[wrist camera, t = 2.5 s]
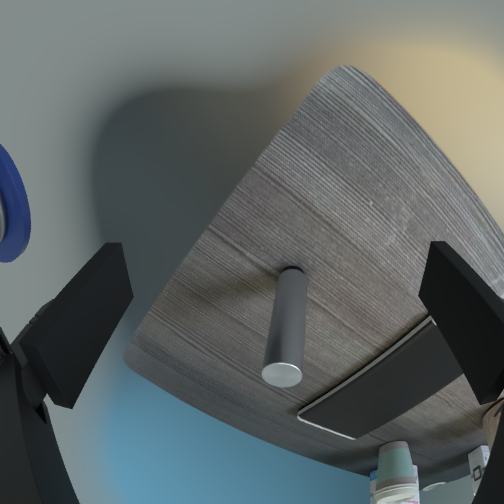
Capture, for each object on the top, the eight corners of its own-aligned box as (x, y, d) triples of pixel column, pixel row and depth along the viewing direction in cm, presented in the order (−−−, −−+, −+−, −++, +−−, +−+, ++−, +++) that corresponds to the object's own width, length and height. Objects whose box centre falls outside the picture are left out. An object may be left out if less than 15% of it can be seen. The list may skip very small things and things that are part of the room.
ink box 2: (499, 444, 49) (508, 492, 37) (485, 454, 52) (493, 501, 39) (480, 444, 49) (490, 497, 36) (466, 454, 52) (474, 505, 39)
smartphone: (483, 348, 34) (487, 357, 33) (353, 433, 48) (354, 441, 47) (434, 307, 32) (438, 317, 31) (295, 410, 46) (294, 419, 45)
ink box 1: (368, 471, 58) (368, 515, 48) (398, 460, 53) (400, 505, 43) (389, 476, 59) (390, 516, 49) (417, 465, 55) (420, 507, 45)
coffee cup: (365, 454, 53) (366, 506, 42) (384, 437, 48) (386, 493, 38) (401, 455, 52) (404, 504, 42) (421, 437, 47) (427, 490, 37)
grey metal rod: (275, 283, 34) (257, 382, 23) (283, 259, 32) (267, 358, 21) (302, 290, 34) (294, 391, 23) (311, 267, 32) (308, 368, 21)
